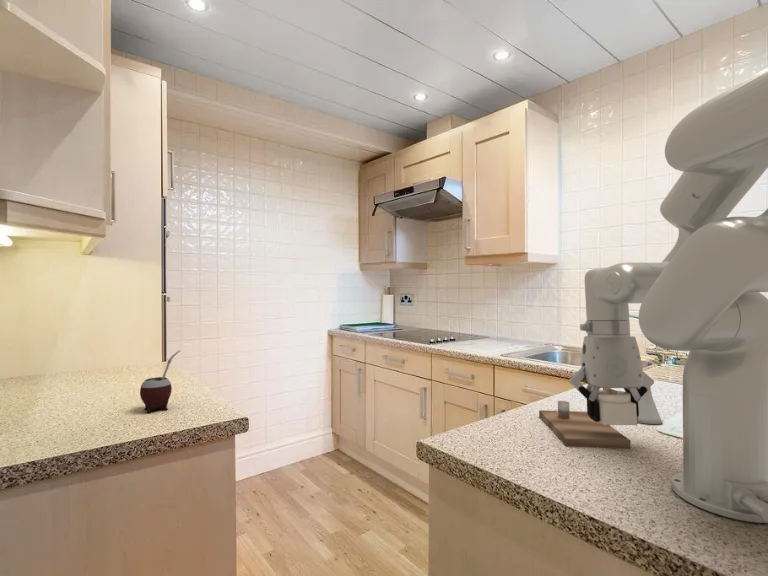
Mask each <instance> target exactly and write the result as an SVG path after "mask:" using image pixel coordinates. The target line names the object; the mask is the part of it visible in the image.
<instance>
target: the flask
mask: <svg viewBox="0 0 768 576" xmlns="http://www.w3.org/2000/svg"><path fill="white" fill-rule="evenodd" d="M652 394H653V393H652V388H651V387H650V388H649V389H648V390H647V392H646V393H645V394H644V395H643V396H642V397H641V400H640V401H638V407H639V416H638V422H637V423H639V424H640V423H641V424H647V425H648V424H649V425H660V424H661V425H663V424H664V423H663V421H662V418H661V416H660V414H659V410H658V408H657V405H656V403H655V400H654V397H653V395H652Z"/></svg>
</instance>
